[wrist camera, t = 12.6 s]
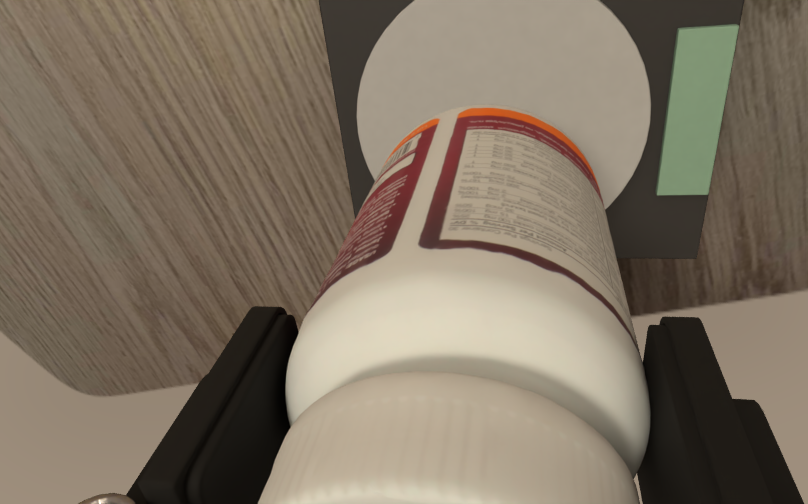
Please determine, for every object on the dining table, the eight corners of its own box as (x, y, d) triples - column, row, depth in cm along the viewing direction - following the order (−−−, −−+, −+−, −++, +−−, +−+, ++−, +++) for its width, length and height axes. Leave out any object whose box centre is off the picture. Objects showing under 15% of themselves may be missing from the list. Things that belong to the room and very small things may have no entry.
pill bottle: (412, 303, 19) (297, 723, 9) (351, 124, 16) (97, 472, 7) (612, 277, 17) (718, 765, 8) (584, 70, 14) (698, 444, 5)
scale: (735, -87, 19) (767, -83, 17) (683, 228, 26) (700, 267, 23) (332, -45, 22) (306, -36, 20) (373, 229, 28) (357, 264, 26)
